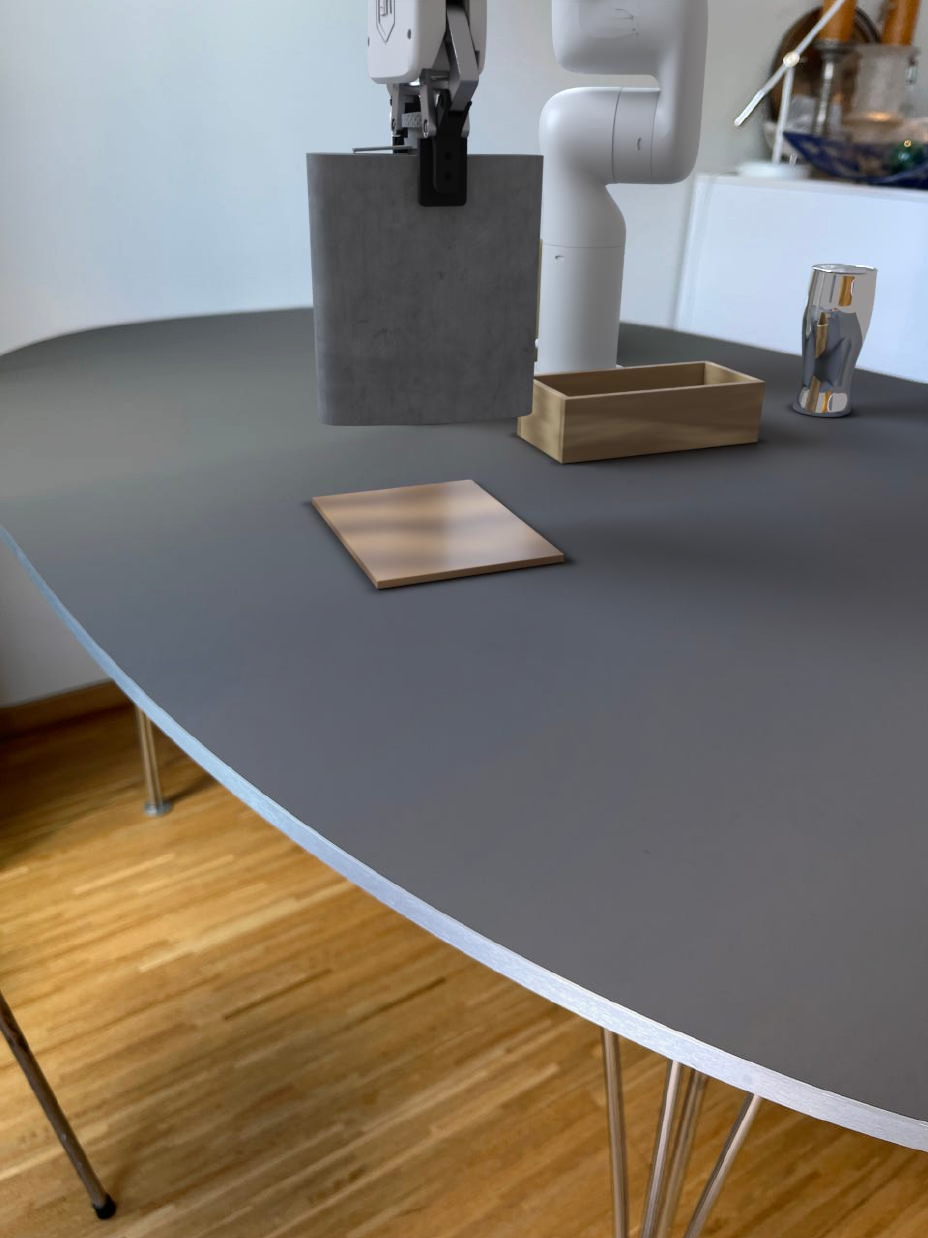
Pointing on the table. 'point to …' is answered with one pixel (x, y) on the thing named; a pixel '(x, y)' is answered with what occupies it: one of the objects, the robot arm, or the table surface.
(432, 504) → the wooden mat
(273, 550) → the table surface
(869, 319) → the beer glass
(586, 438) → the box
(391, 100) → the robot arm
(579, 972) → the table surface
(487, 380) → the hip flask
